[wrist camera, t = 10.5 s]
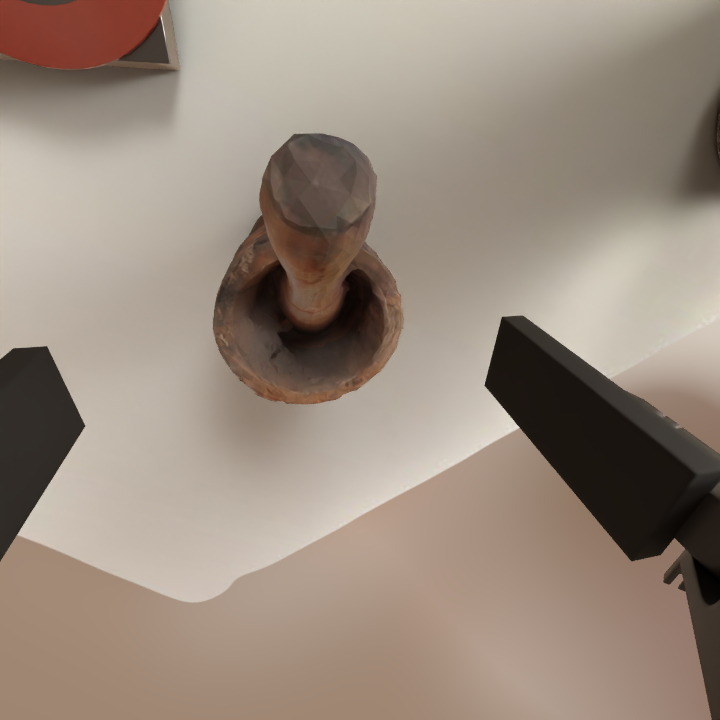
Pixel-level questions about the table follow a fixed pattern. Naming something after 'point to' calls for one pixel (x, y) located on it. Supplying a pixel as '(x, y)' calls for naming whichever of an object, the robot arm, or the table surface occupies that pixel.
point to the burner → (75, 30)
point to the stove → (149, 48)
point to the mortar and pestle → (309, 280)
